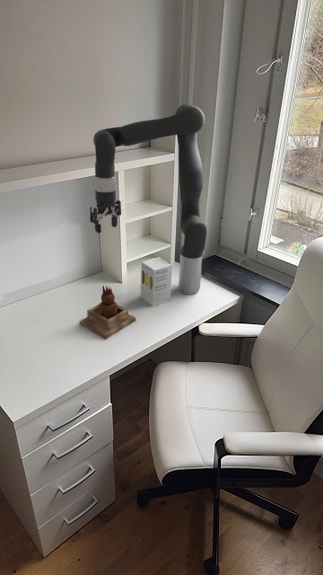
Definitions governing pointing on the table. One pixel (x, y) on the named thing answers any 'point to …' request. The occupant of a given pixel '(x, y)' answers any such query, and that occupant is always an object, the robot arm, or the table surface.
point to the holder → (107, 321)
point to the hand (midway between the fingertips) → (106, 229)
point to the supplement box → (156, 281)
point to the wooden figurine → (108, 304)
